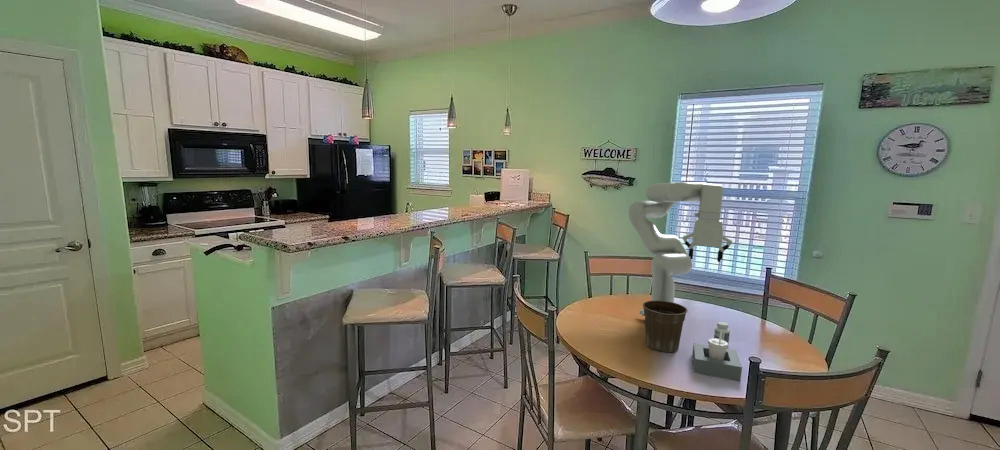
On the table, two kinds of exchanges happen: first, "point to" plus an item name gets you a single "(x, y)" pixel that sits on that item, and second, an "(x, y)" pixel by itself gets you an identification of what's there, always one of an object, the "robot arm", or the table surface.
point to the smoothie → (717, 347)
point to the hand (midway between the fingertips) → (704, 259)
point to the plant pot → (663, 324)
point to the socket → (716, 363)
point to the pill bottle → (725, 331)
